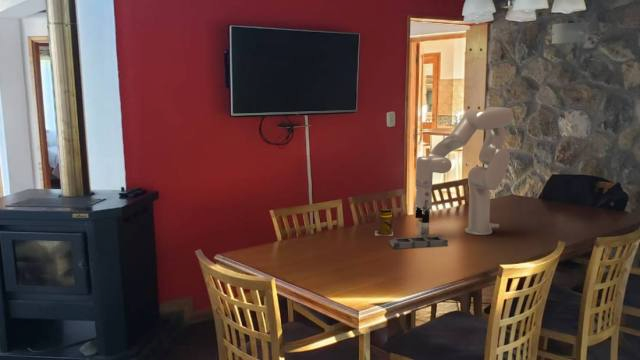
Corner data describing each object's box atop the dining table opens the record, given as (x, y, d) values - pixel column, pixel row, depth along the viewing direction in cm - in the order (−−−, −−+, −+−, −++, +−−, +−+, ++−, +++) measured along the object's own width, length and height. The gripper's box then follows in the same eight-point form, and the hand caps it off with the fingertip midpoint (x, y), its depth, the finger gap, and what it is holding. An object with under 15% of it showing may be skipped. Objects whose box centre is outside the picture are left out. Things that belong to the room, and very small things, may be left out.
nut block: (426, 236, 265) (426, 219, 263) (429, 238, 261) (429, 221, 260) (417, 237, 264) (418, 219, 263) (420, 239, 260) (420, 221, 259)
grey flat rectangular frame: (441, 241, 257) (441, 235, 256) (447, 246, 249) (447, 240, 248) (389, 243, 253) (389, 238, 253) (394, 248, 245) (394, 243, 245)
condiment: (393, 235, 267) (393, 211, 265) (374, 235, 268) (375, 210, 266) (392, 231, 274) (392, 207, 272) (374, 231, 275) (375, 207, 273)
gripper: (438, 186, 250) (436, 224, 253) (425, 180, 267) (423, 216, 270) (421, 187, 249) (420, 224, 252) (410, 180, 266) (408, 216, 269)
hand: (422, 220), depth 261 cm, fingers open, 9 cm apart
